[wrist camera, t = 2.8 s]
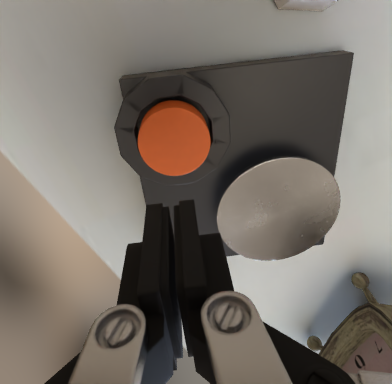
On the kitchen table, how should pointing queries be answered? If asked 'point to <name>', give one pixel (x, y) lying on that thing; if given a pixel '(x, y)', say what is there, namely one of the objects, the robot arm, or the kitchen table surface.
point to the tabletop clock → (360, 336)
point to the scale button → (173, 138)
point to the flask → (304, 4)
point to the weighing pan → (278, 208)
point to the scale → (239, 122)
